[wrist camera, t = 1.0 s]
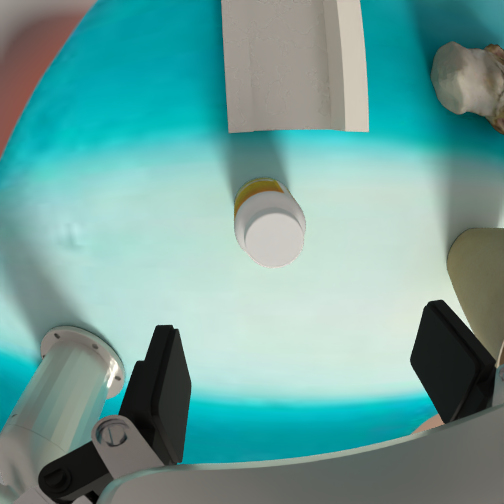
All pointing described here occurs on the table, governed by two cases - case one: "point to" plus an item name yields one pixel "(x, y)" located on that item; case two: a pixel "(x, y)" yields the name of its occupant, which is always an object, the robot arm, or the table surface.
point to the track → (295, 65)
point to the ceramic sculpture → (471, 81)
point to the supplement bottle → (268, 222)
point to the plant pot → (481, 284)
